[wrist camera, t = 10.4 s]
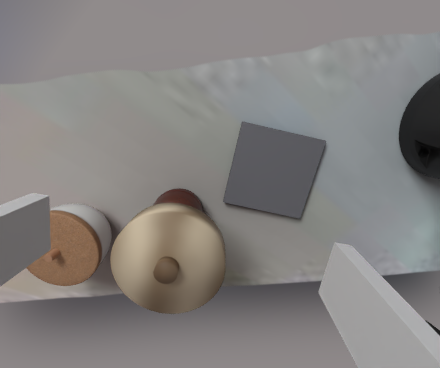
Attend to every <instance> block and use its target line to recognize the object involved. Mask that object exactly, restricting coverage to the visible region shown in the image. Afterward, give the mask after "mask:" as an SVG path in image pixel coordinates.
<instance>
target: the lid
mask: <svg viewBox="0 0 440 368" xmlns="http://www.w3.org/2000/svg"><path fill="white" fill-rule="evenodd" d="M110 262H111V269H112V273H113V276H114V279H115V281H116V283H117V284H118V286H119V288H120V289H121V290H122V292H123V293H124V294H125V295H126V296H127V297H129V298H130V299H131V300H132V301H133V302H135V303H137V304H138V305H140V306H142V307H144V308H146V309H149V310H151V311H156V312H159V313H169V314H176V313H184V312H188V311H191V310H194V309H197V308H199V307H201V306H202V305H204V304H205V303H207V302H208V301H209V300H210V299H212V298H213V297H214V295H215V294H216V293H217V292H218V290H219V288H220V287H221V285H222V282H223V279H224V275H225V244H224V240H223V237H222V234H221V232H220V230H219V228H218V227H217V225H216V224H215V223H214V222H213V221H212V220H211V219H210V218H209V217H208V216H207V215H206V214H204V213H203V212H201V211H200V210H198V209H196V208H194V207H191V206H188V205H185V204H180V203H161V204H156V205H153V206H150V207H148V208H146V209H144V210H142V211H141V212H140V213H138V214H137V215H136V216H135V217H134V218H133V219H132V220H131V221H130V222H129V223H128V224H127V225H126V227H125V228H124V229H123V230H122V231H121V232H120V234H119V235H118V236H117V238H116V240H115V242H114V244H113V247H112V251H111V259H110Z"/></svg>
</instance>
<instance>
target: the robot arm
mask: <svg viewBox="0 0 440 368" xmlns="http://www.w3.org/2000/svg"><path fill="white" fill-rule="evenodd" d="M399 140H400V146H401V150H402V153H403V155H404V157H405V159H406V160H407V162H408V163H409V164H410V165H411V166H412V167H413V168H414V169H416V170H417V171H419V172H420V173H422V174H425V175H428V176H431V177H435V178H438V179H440V74H438V75H436V76H435V77H433V78H432V79H430V80H429V81H428V82H427V83H425V84H424V85H423V86H422V87H421V88H420V89H419V90H418V91H417V92H416V94H415V95H414V96H413V98H412V99H411V100H410V102H409V104H408V106H407V107H406V109H405V112H404V114H403V117H402V120H401V124H400V131H399ZM49 250H51V240H50V206H49V196H48V195H42V194H35V193H31V194H28V195H26V196H23V197H20V198H18V199H15V200H12V201H10V202H7V203H4V204H2V205H0V286H2V285H3V284H4V283H6V282H7V281H9V280H10V279H11V278H13V277H14V276H15V275H17V274H18V273H19V272H21V271H22V270H24V269H25V268H26V267H28V266H29V265H30V264H32V263H33V262H34V261H36V260H37V259H39V258H40V257H41V256H43V255H44V254H45V253H47V252H48V251H49ZM319 295H320V297H321V298H322V301H323V302H324V304H325V306H326V308H327V310H328V312H329V314H330V316H331V318H332V319H333V321H334V323H335V325H336V327H337V329H338V331H339V333H340V335H341V337H342V339H343V341H344V343H345V345H346V346H347V348H348V350H349V352H350V354H351V356H352V358H353V360H354V362H355V364H356V366H357V367H358V368H440V330H438V329H437V328H436V327H434V326H433V325H432V324H430V323H429V322H427V321H425V320H424V319H423V318H422V317H421V316H420V315H419V314H418V313H417V312H416V311H415V310H414V309H413V308H412V307H411V306H410V305H409V304H408V303H407V302H406V301H405V300H404V299H403V298H402V297H401V296H400V295H399V294H398V293H397V292H396V291H395V290H394V289H393V288H392V287H391V286H390V285H389V284H388V282H387V281H386V280H385V279H384V278H382V276H381V275H380V274H379V273H378V272H377V271H376V270H375V269H374V268H373V267H372V266H371V265H370V264H369V263H368V262H367V261H366V260H365V259H364V258H363V257H362V256H361V255H360V254H359V253H358V252H357V251H356V250H355V249H354V248H353V247H352V246H351V245H347V244H341V243H335V242H334V246H333V249H332V252H331V255H330V258H329V261H328V264H327V267H326V270H325V273H324V277H323V280H322V283H321V286H320V289H319Z"/></svg>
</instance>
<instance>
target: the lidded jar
mask: <svg viewBox="0 0 440 368" xmlns="http://www.w3.org/2000/svg"><path fill="white" fill-rule="evenodd" d="M50 240H51V250H49V251H48V252H47V253H45V254H44V255H43V256H41V257H40V258H39V259H37V260H36V261H34V262H33V263H32V264H30V265H29V266H28V267H26V268H27V269H28V270H29V271H30V272H31V273H32V274H33V275H34V276H36V277H37V278H39V279H41V280H43V281H45V282H47V283H50V284H54V285H60V286H70V285H76V284H79V283H82V282H84V281H85V280H87V279H88V278H89V277H91V276H92V274H93V273H94V272H95V271H96V270H97V268H98V266H99V265H100V264H101V262H102V261H103V260H104V258H105V256H106V254H107V253H108V250H109V248H110V245H111V240H112V232H111V227H110V224H109V222H108V220H107V219H106V217H105V216H104V215H103V214H102V213H101V212H100V211H98V210H97V209H95V208H93V207H91V206H88V205H85V204H78V203H70V204H64V205H59V206H56V207H53V208H51V209H50Z"/></svg>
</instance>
